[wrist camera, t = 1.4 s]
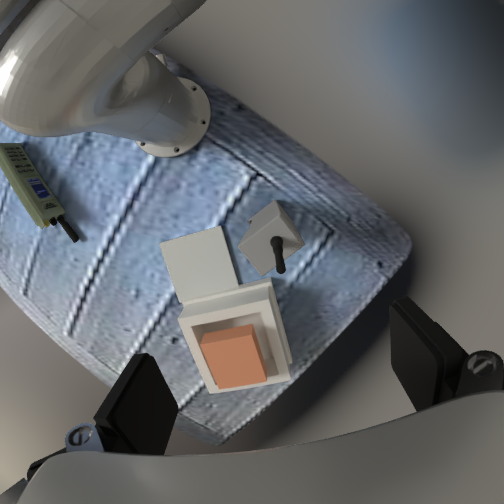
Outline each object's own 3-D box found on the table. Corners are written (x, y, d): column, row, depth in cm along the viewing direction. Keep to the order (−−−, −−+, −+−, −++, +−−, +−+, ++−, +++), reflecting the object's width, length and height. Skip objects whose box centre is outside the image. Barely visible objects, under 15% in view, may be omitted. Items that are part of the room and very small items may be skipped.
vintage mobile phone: (247, 220, 44) (225, 276, 19) (275, 198, 43) (287, 228, 18) (263, 240, 44) (261, 317, 20) (291, 219, 43) (322, 274, 19)
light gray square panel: (160, 242, 45) (158, 243, 44) (221, 225, 44) (220, 226, 43) (180, 301, 47) (179, 302, 47) (239, 287, 46) (239, 289, 46)
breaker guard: (185, 297, 47) (173, 316, 40) (270, 277, 46) (271, 294, 39) (214, 371, 50) (208, 396, 44) (291, 356, 49) (294, 381, 42)
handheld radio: (21, 140, 42) (86, 232, 45) (14, 153, 42) (77, 244, 46) (-3, 140, 35) (63, 241, 39) (-10, 154, 36) (54, 255, 40)
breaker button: (204, 333, 41) (200, 344, 38) (252, 323, 40) (251, 334, 37) (221, 377, 43) (219, 389, 40) (266, 369, 42) (266, 381, 39)
